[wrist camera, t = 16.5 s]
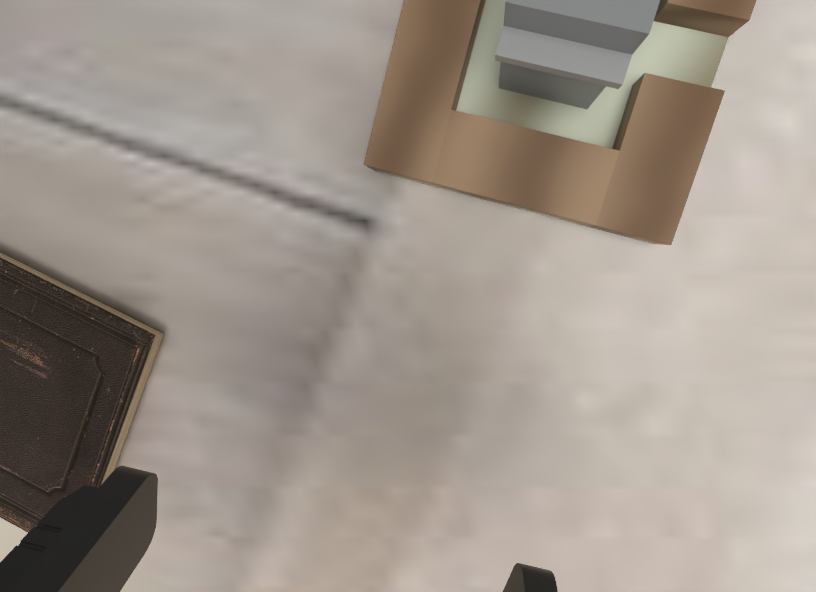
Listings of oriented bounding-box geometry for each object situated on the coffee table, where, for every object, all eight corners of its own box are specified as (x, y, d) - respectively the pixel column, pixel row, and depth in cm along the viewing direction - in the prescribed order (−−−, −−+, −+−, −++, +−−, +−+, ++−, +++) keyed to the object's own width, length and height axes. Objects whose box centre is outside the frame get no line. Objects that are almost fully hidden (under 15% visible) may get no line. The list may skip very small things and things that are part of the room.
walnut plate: (375, 170, 28) (363, 164, 26) (460, -173, 25) (457, -219, 23) (653, 243, 26) (671, 244, 24) (776, -116, 24) (810, -158, 21)
